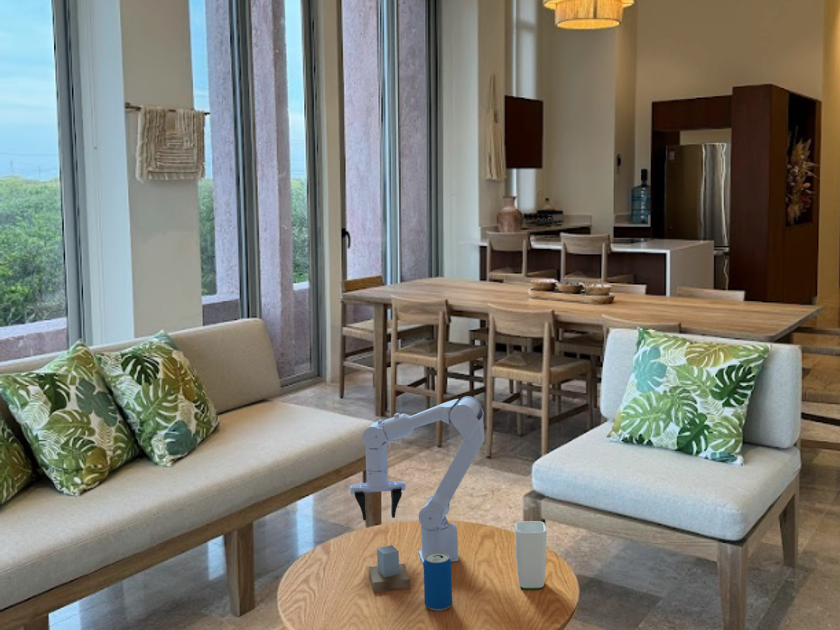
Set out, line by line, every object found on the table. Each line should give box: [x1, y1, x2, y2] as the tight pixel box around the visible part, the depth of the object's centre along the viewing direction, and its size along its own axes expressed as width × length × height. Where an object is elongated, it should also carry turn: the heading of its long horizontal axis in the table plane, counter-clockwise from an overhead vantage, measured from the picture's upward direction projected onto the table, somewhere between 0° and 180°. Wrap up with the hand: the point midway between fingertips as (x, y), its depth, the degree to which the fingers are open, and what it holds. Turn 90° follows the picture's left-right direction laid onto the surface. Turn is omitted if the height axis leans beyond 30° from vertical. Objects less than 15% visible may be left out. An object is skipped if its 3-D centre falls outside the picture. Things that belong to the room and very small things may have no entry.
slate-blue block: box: [376, 544, 400, 577], centre depth 222 cm, size 4×4×6 cm
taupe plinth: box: [368, 563, 411, 593], centre depth 223 cm, size 9×9×3 cm
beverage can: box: [422, 552, 453, 612], centre depth 209 cm, size 6×6×12 cm
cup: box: [514, 520, 547, 590], centre depth 218 cm, size 7×7×15 cm
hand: (378, 517), depth 239 cm, fingers open, 7 cm apart
